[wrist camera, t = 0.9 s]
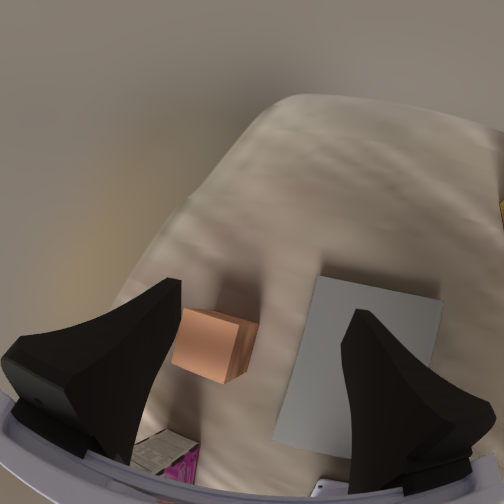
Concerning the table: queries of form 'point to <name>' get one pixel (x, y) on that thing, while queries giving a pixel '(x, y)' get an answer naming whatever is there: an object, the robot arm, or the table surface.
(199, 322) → the block
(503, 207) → the candy box
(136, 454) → the candy bar box
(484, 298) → the table surface
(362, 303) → the board
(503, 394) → the table surface
